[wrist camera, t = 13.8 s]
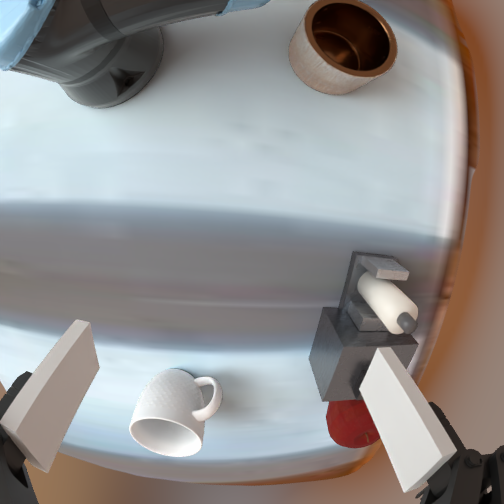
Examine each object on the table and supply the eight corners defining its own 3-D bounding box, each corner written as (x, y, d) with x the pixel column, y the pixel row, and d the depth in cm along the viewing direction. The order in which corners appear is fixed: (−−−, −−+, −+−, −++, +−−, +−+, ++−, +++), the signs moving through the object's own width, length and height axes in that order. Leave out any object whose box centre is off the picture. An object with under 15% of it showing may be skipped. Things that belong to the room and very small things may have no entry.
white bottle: (361, 268, 38) (402, 310, 27) (387, 270, 38) (431, 310, 27) (354, 296, 39) (389, 344, 28) (379, 297, 40) (417, 342, 28)
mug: (202, 340, 43) (192, 402, 30) (239, 383, 46) (240, 443, 33) (135, 370, 44) (114, 424, 32) (173, 407, 48) (162, 461, 35)
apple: (377, 395, 49) (400, 442, 37) (324, 415, 50) (339, 466, 38) (373, 357, 45) (403, 409, 33) (312, 380, 46) (330, 439, 34)
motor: (336, 249, 39) (372, 286, 27) (405, 257, 40) (450, 291, 28) (304, 371, 46) (319, 424, 34) (365, 370, 46) (389, 416, 35)
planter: (377, 61, 30) (412, 41, 21) (338, 111, 33) (369, 99, 24) (315, 14, 28) (336, -19, 19) (270, 62, 30) (281, 33, 21)
